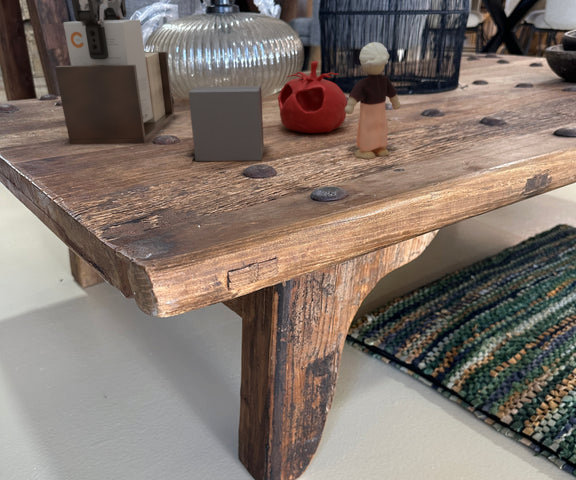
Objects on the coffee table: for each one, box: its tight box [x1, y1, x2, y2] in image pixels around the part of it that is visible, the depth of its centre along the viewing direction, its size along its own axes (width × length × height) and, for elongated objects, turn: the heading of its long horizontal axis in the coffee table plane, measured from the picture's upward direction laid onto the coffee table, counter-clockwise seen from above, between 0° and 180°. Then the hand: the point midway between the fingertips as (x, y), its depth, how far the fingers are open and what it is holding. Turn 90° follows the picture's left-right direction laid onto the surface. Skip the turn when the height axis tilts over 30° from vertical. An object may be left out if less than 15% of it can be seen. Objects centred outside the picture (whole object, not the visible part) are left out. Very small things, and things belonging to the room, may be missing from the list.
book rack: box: [54, 51, 175, 145], centre depth 81 cm, size 10×18×10 cm, turn 178°
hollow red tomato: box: [277, 60, 348, 134], centre depth 81 cm, size 10×10×9 cm
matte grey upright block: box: [188, 85, 265, 162], centre depth 68 cm, size 8×4×8 cm, turn 88°
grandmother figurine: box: [345, 41, 402, 160], centre depth 66 cm, size 8×4×13 cm, turn 131°
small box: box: [62, 19, 153, 122], centre depth 77 cm, size 8×6×13 cm
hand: (108, 55), depth 76 cm, fingers closed on small box, 6 cm apart
